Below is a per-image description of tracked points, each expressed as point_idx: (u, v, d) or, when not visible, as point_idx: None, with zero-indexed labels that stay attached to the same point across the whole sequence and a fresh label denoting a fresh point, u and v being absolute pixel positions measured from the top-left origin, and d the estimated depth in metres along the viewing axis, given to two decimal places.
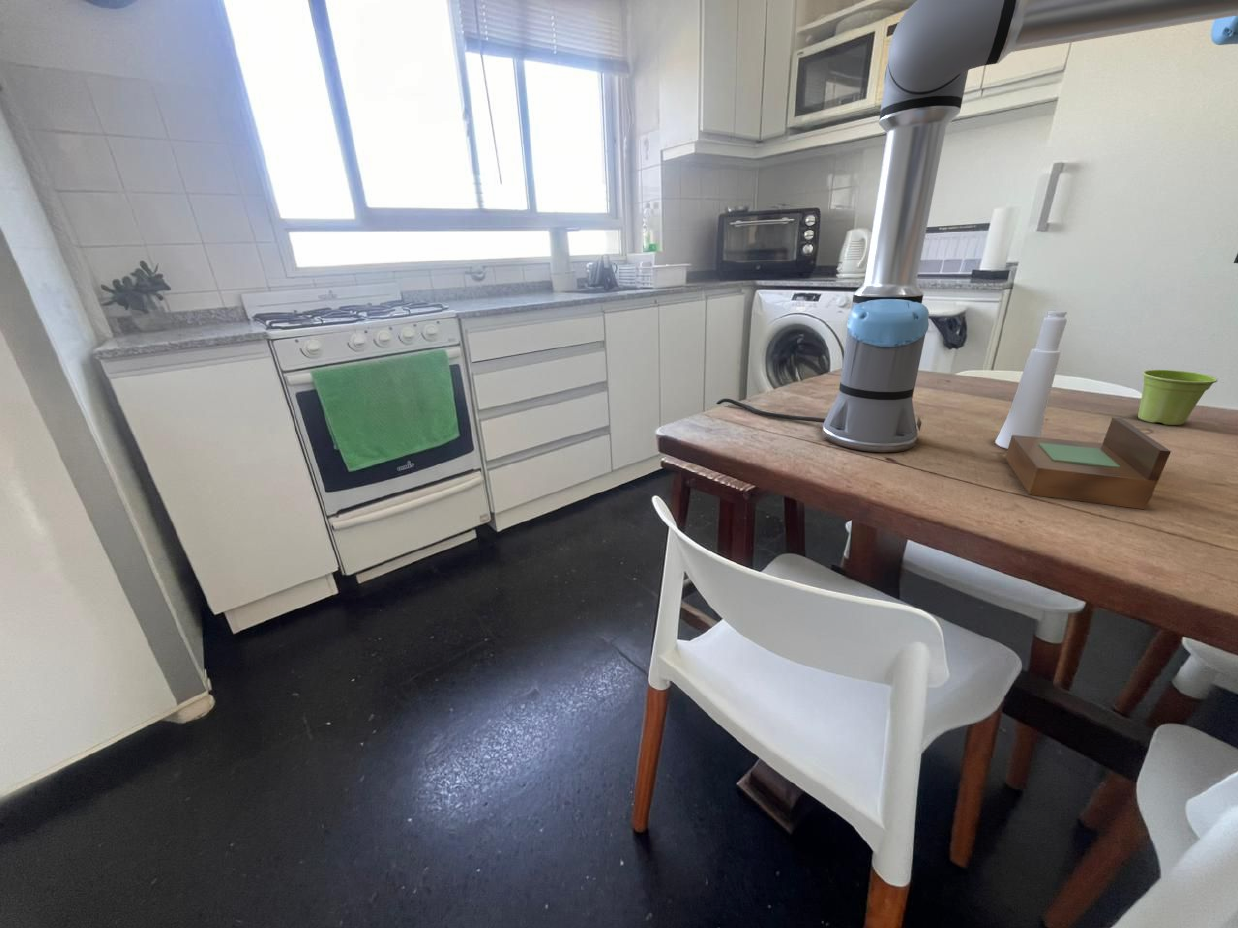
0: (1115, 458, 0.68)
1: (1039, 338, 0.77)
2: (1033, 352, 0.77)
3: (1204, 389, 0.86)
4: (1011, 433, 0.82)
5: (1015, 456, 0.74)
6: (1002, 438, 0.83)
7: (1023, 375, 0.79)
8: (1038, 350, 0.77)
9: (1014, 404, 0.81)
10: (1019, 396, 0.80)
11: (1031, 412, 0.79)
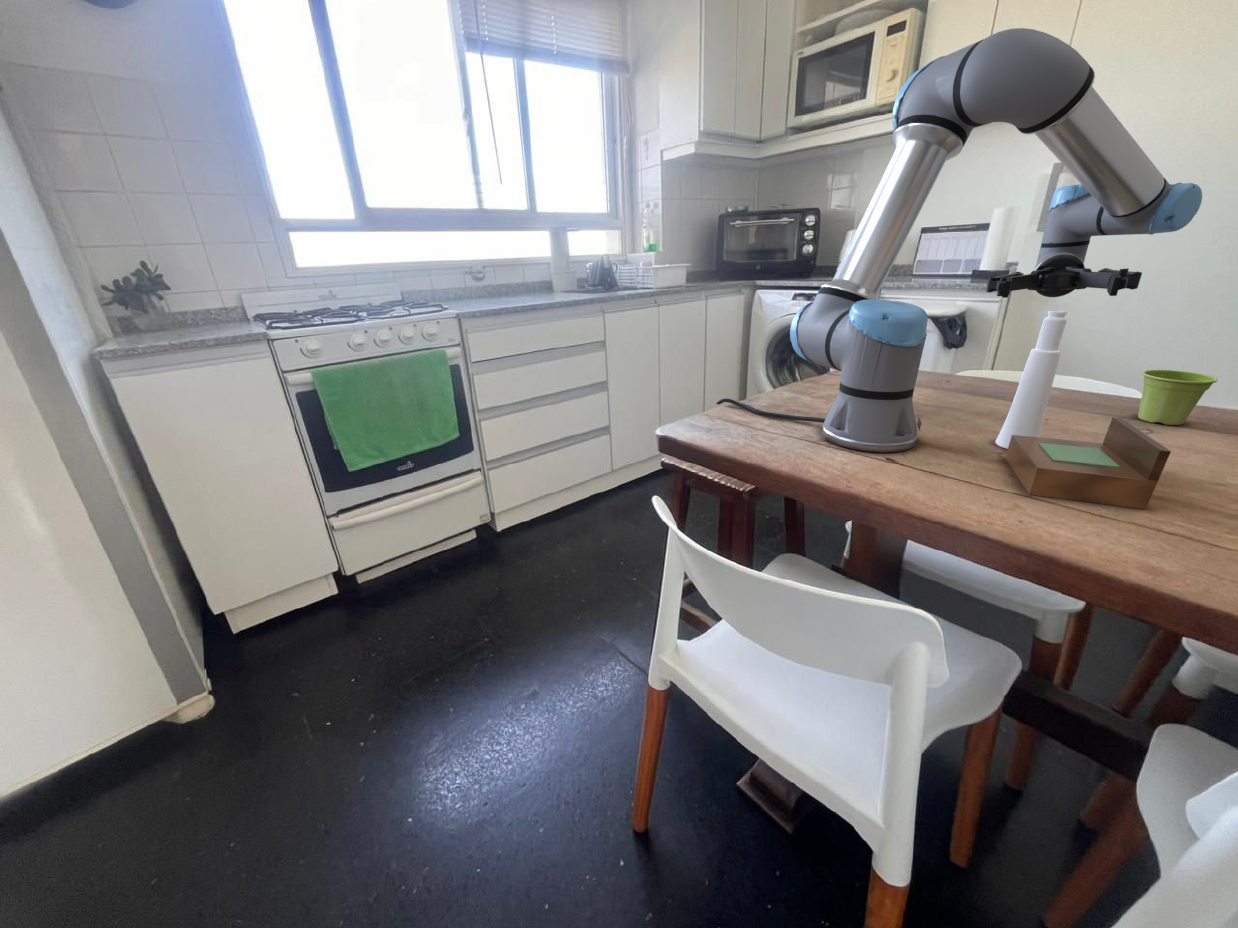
0: (1115, 458, 0.68)
1: (1039, 338, 0.77)
2: (1033, 352, 0.77)
3: (1204, 389, 0.86)
4: (1011, 433, 0.82)
5: (1015, 456, 0.74)
6: (1002, 438, 0.83)
7: (1023, 375, 0.79)
8: (1038, 350, 0.77)
9: (1014, 404, 0.81)
10: (1019, 396, 0.80)
11: (1031, 412, 0.79)
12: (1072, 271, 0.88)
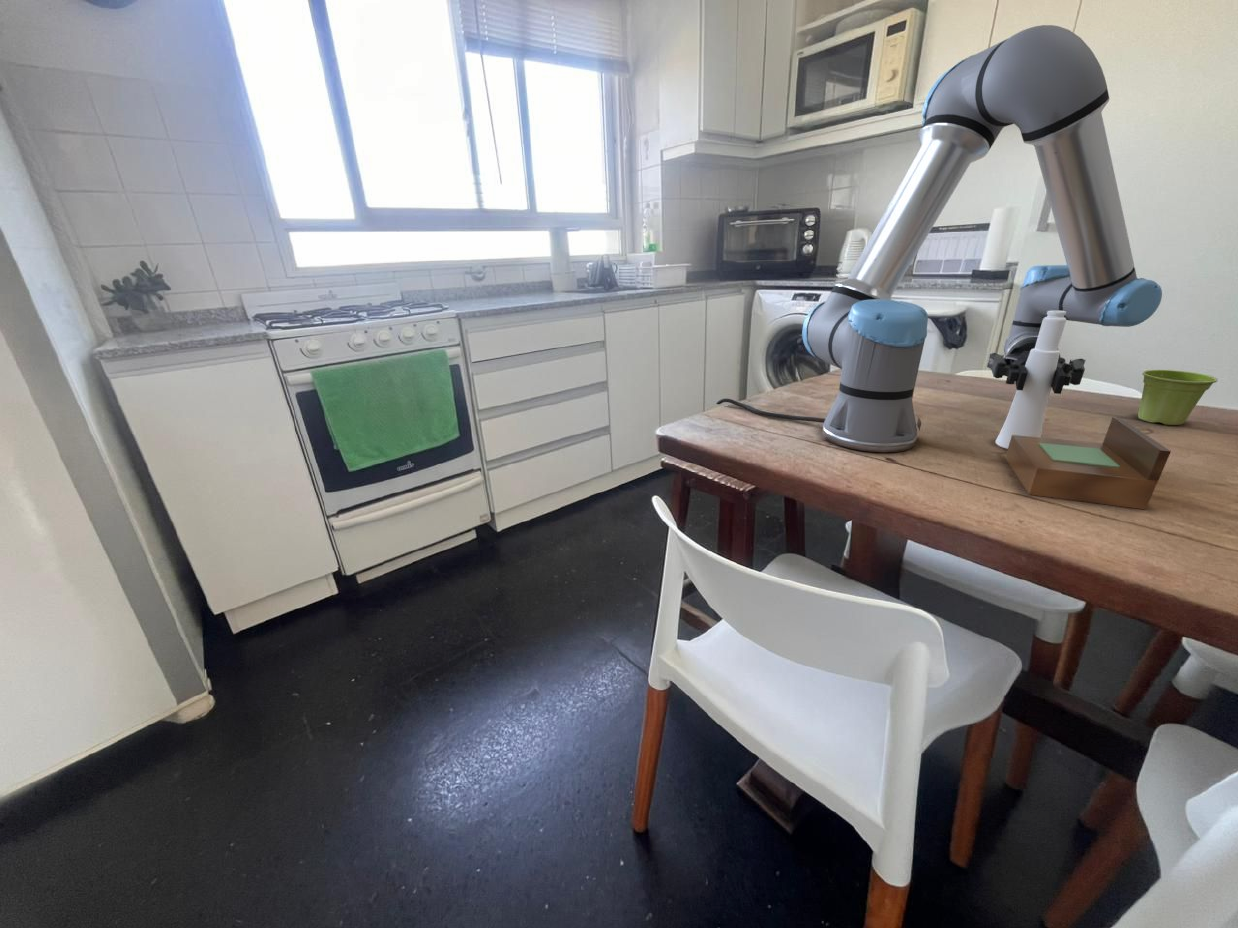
0: (1115, 458, 0.68)
1: (1039, 338, 0.77)
2: (1033, 352, 0.77)
3: (1204, 389, 0.86)
4: (1011, 433, 0.82)
5: (1015, 456, 0.74)
6: (1002, 438, 0.83)
7: None
8: (1038, 350, 0.77)
9: (1014, 404, 0.81)
10: (1019, 396, 0.80)
11: (1031, 412, 0.79)
12: None
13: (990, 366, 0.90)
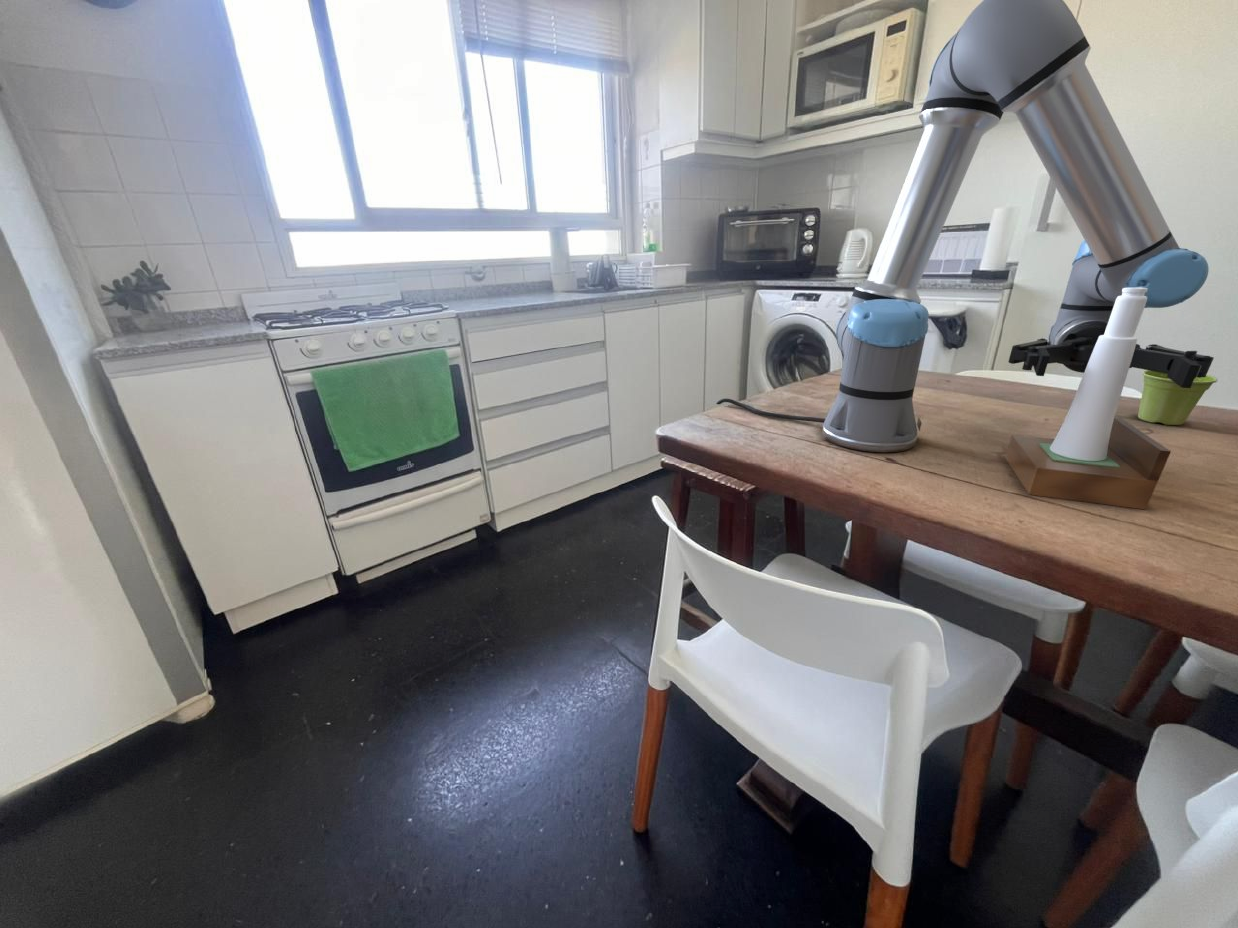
0: (1115, 458, 0.68)
1: (1110, 322, 0.62)
2: (1102, 339, 0.63)
3: (1204, 389, 0.86)
4: (1071, 438, 0.67)
5: (1015, 456, 0.74)
6: (1059, 444, 0.69)
7: (1088, 368, 0.65)
8: (1109, 337, 0.62)
9: (1076, 403, 0.67)
10: (1083, 393, 0.66)
11: (1098, 413, 0.65)
12: None
13: None
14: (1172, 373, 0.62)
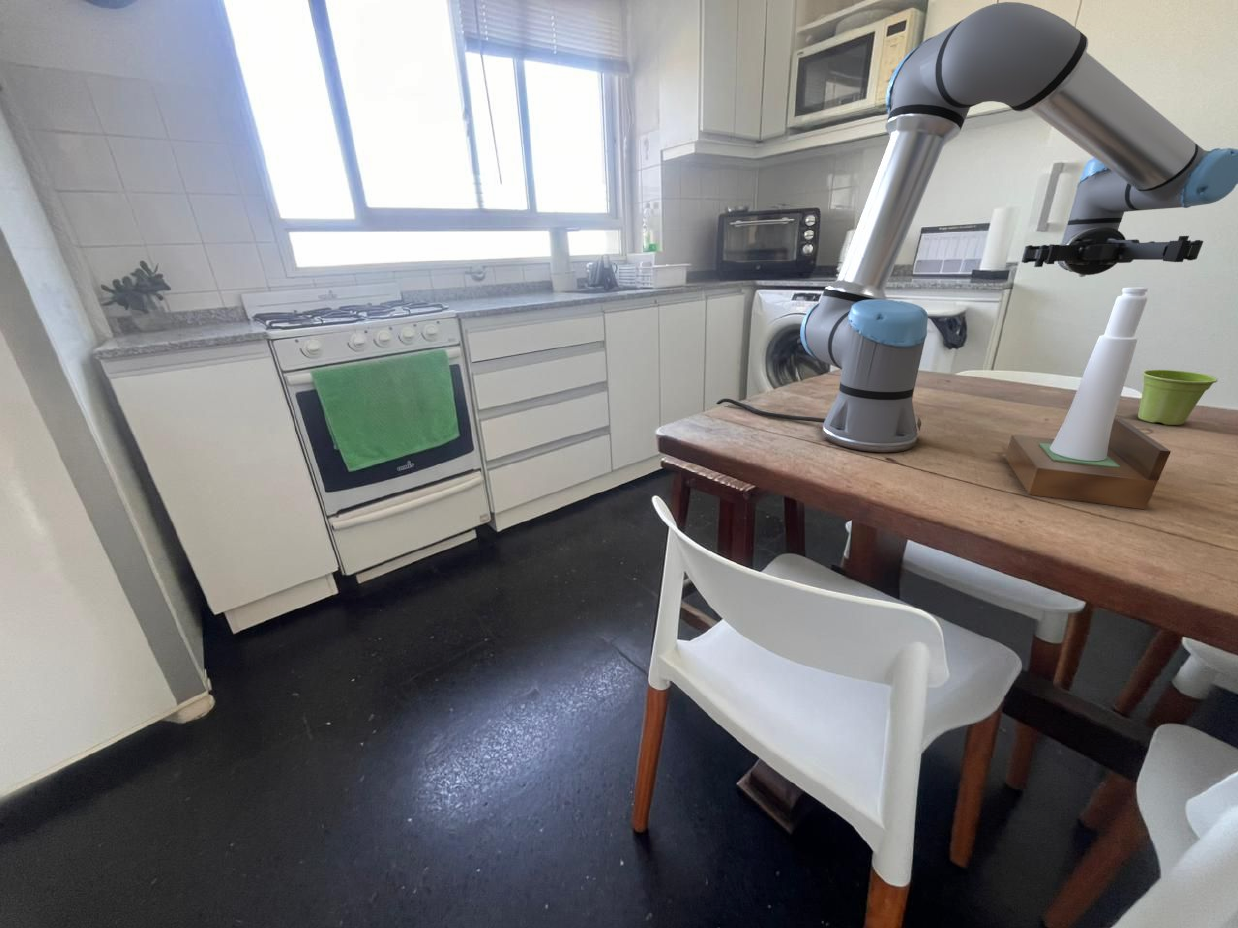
0: (1115, 458, 0.68)
1: (1110, 322, 0.62)
2: (1102, 339, 0.63)
3: (1204, 389, 0.86)
4: (1071, 438, 0.67)
5: (1015, 456, 0.74)
6: (1059, 444, 0.69)
7: (1088, 368, 0.65)
8: (1109, 337, 0.62)
9: (1076, 403, 0.67)
10: (1083, 393, 0.66)
11: (1098, 413, 0.65)
12: (1116, 243, 0.79)
13: None
14: (1167, 255, 0.71)
